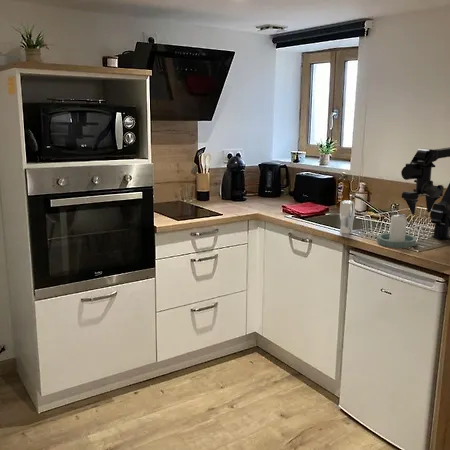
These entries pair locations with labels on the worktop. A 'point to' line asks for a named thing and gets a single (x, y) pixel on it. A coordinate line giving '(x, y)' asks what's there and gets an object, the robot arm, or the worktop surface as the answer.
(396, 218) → the can
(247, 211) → the worktop surface
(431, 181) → the robot arm
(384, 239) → the dish
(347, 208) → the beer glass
